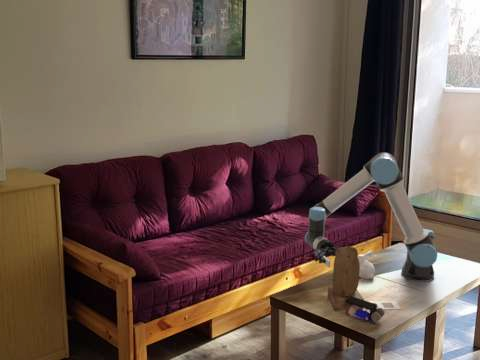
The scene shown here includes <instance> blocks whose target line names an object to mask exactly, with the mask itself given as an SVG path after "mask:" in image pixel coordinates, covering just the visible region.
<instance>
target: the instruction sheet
mask: <svg viewBox="0 0 480 360" xmlns="http://www.w3.org/2000/svg"><path fill="white" fill-rule="evenodd" d="M367 301H368V302H371V303H374V304H377V308H382V309H383V310H384V311H400V310H402V308H401V307H400V305H399V304H398V303H397V301H395V300H376V301H375V300H371V301H370V300H367ZM365 311H369V310H368V309H365Z"/></svg>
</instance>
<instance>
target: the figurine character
mask: <svg viewBox="0 0 480 360" xmlns="http://www.w3.org/2000/svg"><path fill="white" fill-rule="evenodd" d="M368 301H369V300H362V299H359V298H355V297H352V296H351V297H349V298H348V299H347V300H345V302H347V303H350V304H349V305H347V307H346V309H345V311H344V312H345V313H346V315H347V316H349V317H350V318H351V317H357V318H359V319H363V320H365V321H367V322H369V323H371V324H372V325H376V323H377V321H378V322H380V320H381V319H382V318H383V317H384V316H385V315H386V310H383V309H382V308H377V304H374V303H371V302H368ZM357 306H359V307H362V308H363V310H361V309H358V308H357ZM364 309H365V310H364ZM366 309H368V310H366ZM375 322H376V323H375Z"/></svg>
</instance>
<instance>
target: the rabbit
mask: <svg viewBox="0 0 480 360" xmlns="http://www.w3.org/2000/svg"><path fill="white" fill-rule="evenodd" d="M374 252H375V251H374V250H373V249H370V250H368V251H367V252H366V253H364V254H358V258H360V272H359V278H362V279H364V280H373V279H374V278H375V275H376V274H375V273H376V268H375V267H374V265H373V263H371V262H369V261H368V260H367V258H370V257H373V256H374V254H375V253H374Z"/></svg>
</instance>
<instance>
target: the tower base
mask: <svg viewBox="0 0 480 360" xmlns="http://www.w3.org/2000/svg"><path fill="white" fill-rule="evenodd" d="M351 296H352V297H355V298H359V299H362V300H364V298H363V296H362V295H361V293H360V292H359V290H358V289H357V290H356V292H355V293H354V294H352V295H351ZM351 296H348V297H343V296H339V295H337V294H335V293H334V292H333V286H331V287H330V286H328V287H327V300H328V302H329V304H330V305H331V307H332V309H333V311H334V312H346V311H345V309H346V307H347V305H349V304H350V303H347V302H345V300H347V299H348V298H349V297H351ZM357 308H358V309H361V310H364V308H362V307H359V306H357Z"/></svg>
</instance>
